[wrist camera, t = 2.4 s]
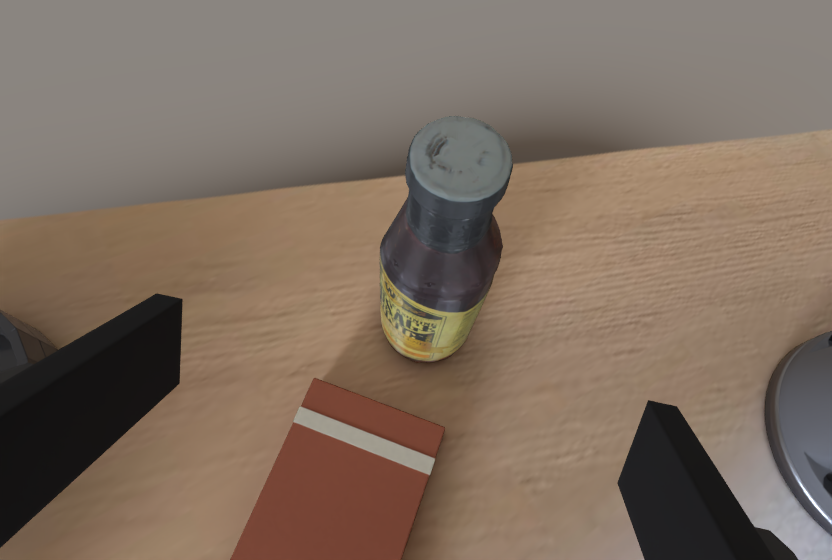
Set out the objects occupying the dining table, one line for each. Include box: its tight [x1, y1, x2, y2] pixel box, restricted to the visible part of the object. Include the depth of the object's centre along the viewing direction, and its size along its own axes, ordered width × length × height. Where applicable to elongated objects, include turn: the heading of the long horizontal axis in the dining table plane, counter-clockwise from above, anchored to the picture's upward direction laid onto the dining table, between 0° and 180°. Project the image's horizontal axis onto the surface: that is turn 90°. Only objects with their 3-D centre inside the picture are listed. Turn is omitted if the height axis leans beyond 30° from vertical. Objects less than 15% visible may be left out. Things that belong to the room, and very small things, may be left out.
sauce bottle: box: [380, 116, 513, 363], centre depth 29 cm, size 6×6×20 cm
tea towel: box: [230, 378, 445, 560], centre depth 32 cm, size 9×15×2 cm, turn 160°
